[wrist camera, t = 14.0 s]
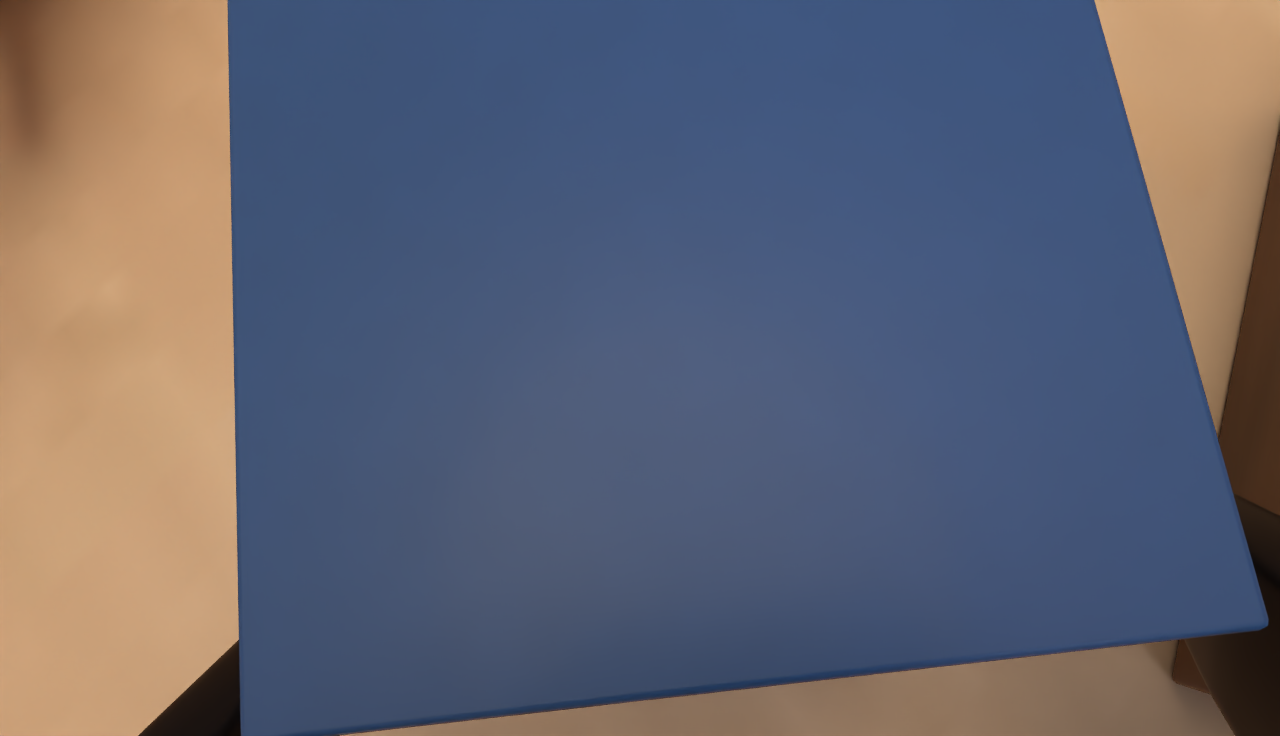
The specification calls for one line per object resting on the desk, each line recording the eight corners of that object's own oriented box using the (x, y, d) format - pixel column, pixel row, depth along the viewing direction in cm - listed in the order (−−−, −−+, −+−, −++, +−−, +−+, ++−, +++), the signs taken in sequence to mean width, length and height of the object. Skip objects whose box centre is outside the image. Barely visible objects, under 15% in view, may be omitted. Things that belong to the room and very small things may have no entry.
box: (890, 569, 15) (1291, 640, 4) (582, 607, 15) (229, 759, 5) (831, 252, 16) (1020, -310, 6) (549, 296, 17) (216, -142, 6)
